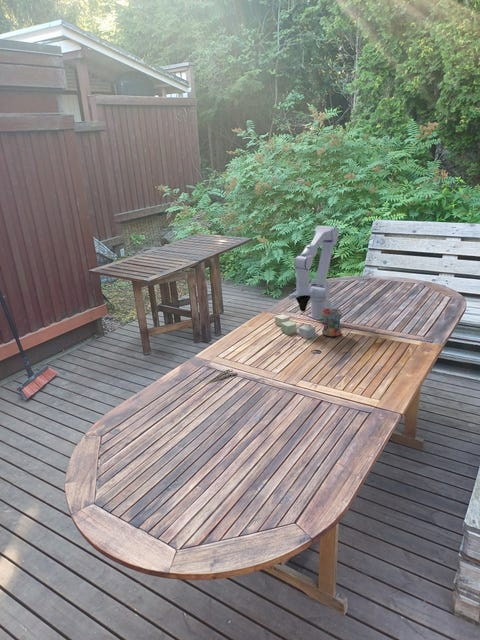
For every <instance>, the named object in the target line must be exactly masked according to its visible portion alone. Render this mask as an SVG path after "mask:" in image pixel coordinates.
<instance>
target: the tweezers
mask: <svg viewBox="0 0 480 640" xmlns="http://www.w3.org/2000/svg"><path fill="white" fill-rule="evenodd" d="M230 370H231V371H230ZM228 371H230V373H229V372H228ZM227 372H228V374H227ZM225 373H226V374H225ZM223 374H224V375H223ZM235 374H236V375H238V371H235V372H233V369H226V370H224V371H222V372H220V373H219V374H217V375H216V376H215V377H213V378H212V379H210V380H208V381H207V382H205V383H204V386H205V385H208V384H211V383H214V382H216V381H219V379H220V380H222V378H223V379H225V377H226V378H229V377H231V376H230V375H232V376H235ZM221 375H222V376H221ZM219 376H220V377H219ZM228 376H229V377H228ZM217 377H218V378H217ZM215 378H216V379H215Z"/></svg>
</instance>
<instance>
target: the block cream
mask: <svg viewBox="0 0 480 640" xmlns="http://www.w3.org/2000/svg"><path fill="white" fill-rule="evenodd" d="M287 321H291V317H290V316H289V315H286V314H284V313H282V314H279V315H275V316H274V324H275V325H277V326H279V327H281V323H284V322H287Z"/></svg>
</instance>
